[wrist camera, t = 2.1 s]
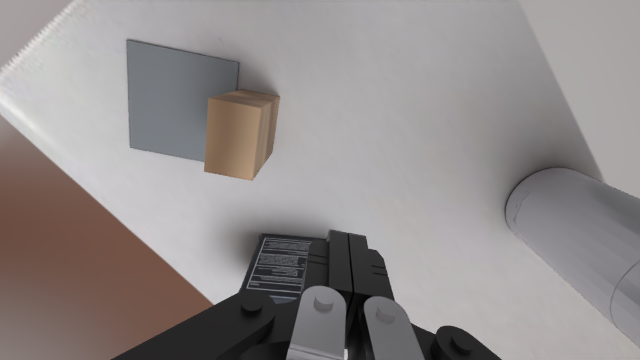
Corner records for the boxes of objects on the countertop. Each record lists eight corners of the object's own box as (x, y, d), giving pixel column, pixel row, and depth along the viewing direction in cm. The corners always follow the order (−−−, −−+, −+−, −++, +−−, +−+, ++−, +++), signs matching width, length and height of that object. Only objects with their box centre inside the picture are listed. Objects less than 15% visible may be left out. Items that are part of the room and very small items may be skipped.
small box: (259, 276, 40) (235, 345, 30) (260, 232, 37) (234, 291, 27) (341, 283, 40) (343, 355, 30) (346, 239, 37) (351, 302, 27)
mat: (239, 62, 30) (237, 62, 30) (229, 165, 34) (228, 166, 34) (129, 40, 30) (126, 40, 30) (132, 146, 34) (130, 147, 34)
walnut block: (280, 96, 32) (260, 108, 23) (272, 152, 34) (252, 180, 25) (241, 89, 31) (208, 97, 23) (236, 145, 34) (204, 171, 25)
